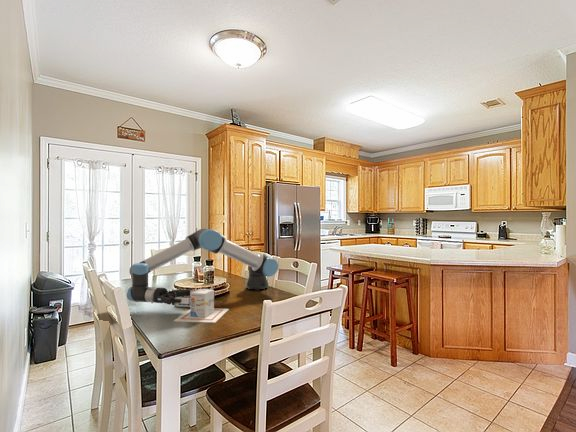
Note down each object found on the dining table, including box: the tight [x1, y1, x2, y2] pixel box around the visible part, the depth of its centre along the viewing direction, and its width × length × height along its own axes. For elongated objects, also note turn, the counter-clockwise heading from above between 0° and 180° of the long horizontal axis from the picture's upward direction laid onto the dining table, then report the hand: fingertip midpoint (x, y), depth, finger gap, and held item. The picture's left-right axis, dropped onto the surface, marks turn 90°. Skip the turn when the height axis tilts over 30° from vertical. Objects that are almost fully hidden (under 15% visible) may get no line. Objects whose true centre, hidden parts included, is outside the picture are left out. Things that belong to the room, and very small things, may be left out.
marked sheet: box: [173, 307, 230, 324], centre depth 150 cm, size 20×20×1 cm
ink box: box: [189, 288, 215, 318], centre depth 150 cm, size 9×8×12 cm
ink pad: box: [175, 296, 190, 308], centre depth 170 cm, size 15×14×2 cm
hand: (195, 297), depth 150 cm, fingers open, 13 cm apart
